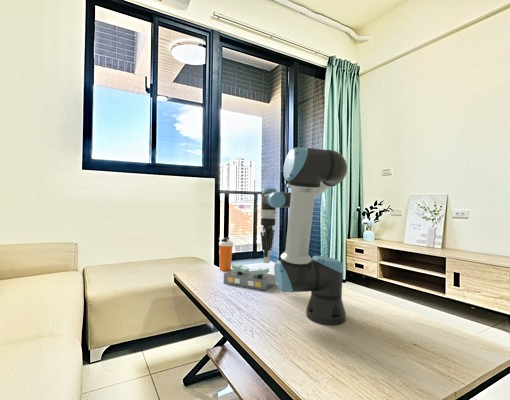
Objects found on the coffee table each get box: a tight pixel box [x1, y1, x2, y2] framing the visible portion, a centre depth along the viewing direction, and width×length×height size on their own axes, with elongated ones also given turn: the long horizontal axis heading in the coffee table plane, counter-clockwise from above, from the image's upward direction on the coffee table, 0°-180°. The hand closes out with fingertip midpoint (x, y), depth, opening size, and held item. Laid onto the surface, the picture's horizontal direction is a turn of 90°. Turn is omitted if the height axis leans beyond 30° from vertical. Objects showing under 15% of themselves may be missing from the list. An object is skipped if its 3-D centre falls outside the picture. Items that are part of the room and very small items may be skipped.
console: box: [223, 269, 277, 292], centre depth 149 cm, size 13×25×6 cm, turn 64°
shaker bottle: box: [218, 237, 234, 272], centre depth 177 cm, size 9×9×20 cm
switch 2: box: [250, 267, 270, 275], centre depth 146 cm, size 5×8×2 cm, turn 64°
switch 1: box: [231, 262, 250, 273], centre depth 151 cm, size 5×8×2 cm, turn 64°
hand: (266, 262), depth 145 cm, fingers closed
